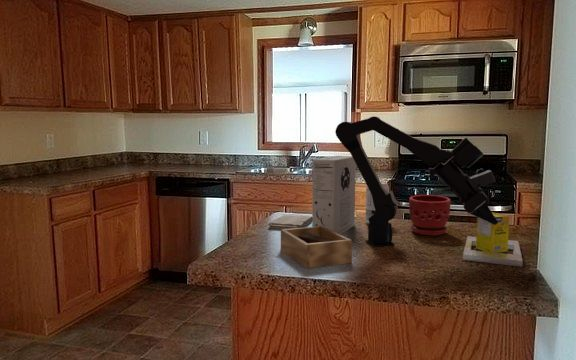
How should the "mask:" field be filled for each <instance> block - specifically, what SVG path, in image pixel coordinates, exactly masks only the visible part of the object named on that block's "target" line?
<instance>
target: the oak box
mask: <svg viewBox="0 0 576 360" xmlns="http://www.w3.org/2000/svg"><path fill="white" fill-rule="evenodd" d="M305 234H311V235H315V236H318V237H322V238H326V239H330V240H332V241H329V242H319V243H309V244H308V243H306V242H305V241H303V240H301V239H299V236H301V235H305ZM280 251H281V252H283V253H284V254H285V255H287V256H288V257H289V258H291V259H292V260H293V261H295V262H296V263H298V264H299V265H301V266H302V267H304V269H311V268H319V267H320V268H321V267H329V266H335V265H345V264H351V263H352V262H353V259H352V258H353V240H352V239H351V238H348V237H346V236H344V235H342V234H338V233H336V232H334V231H331V230H329V229H327V228H325V227H323V226H316V227H312V226H309V227H308V226H306V227H304V228H293V229H282V230H280Z"/></svg>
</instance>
